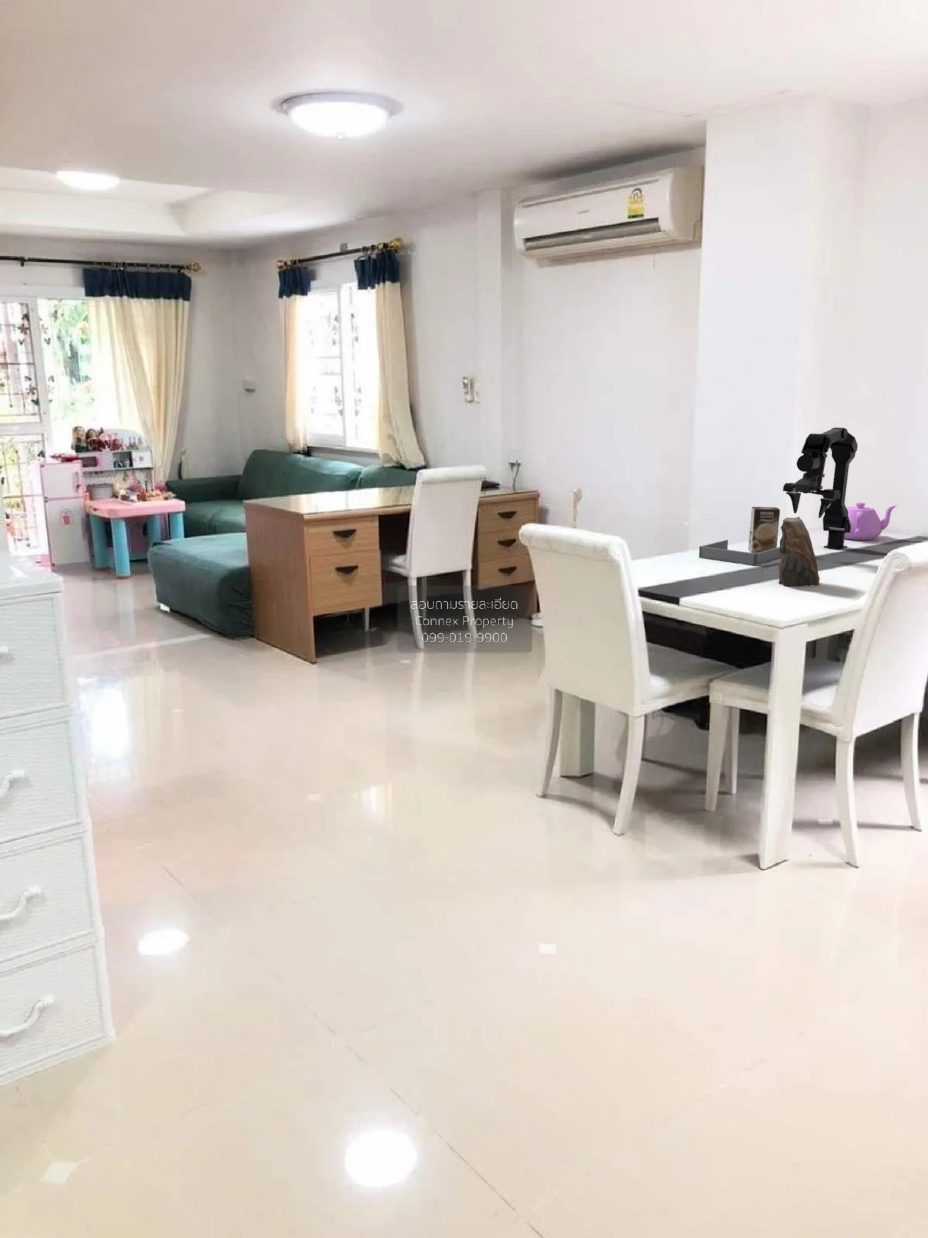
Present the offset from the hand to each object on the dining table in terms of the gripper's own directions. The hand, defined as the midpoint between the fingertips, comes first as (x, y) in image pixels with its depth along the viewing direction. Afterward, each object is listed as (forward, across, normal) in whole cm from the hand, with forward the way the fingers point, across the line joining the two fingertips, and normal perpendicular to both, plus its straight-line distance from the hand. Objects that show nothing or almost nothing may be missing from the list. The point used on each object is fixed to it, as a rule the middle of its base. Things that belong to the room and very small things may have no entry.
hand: (807, 515), depth 340 cm
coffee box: (+16, -15, +1) cm, 23 cm away
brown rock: (+16, +20, -39) cm, 46 cm away
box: (+17, -15, -15) cm, 27 cm away
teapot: (+13, -2, +54) cm, 55 cm away
